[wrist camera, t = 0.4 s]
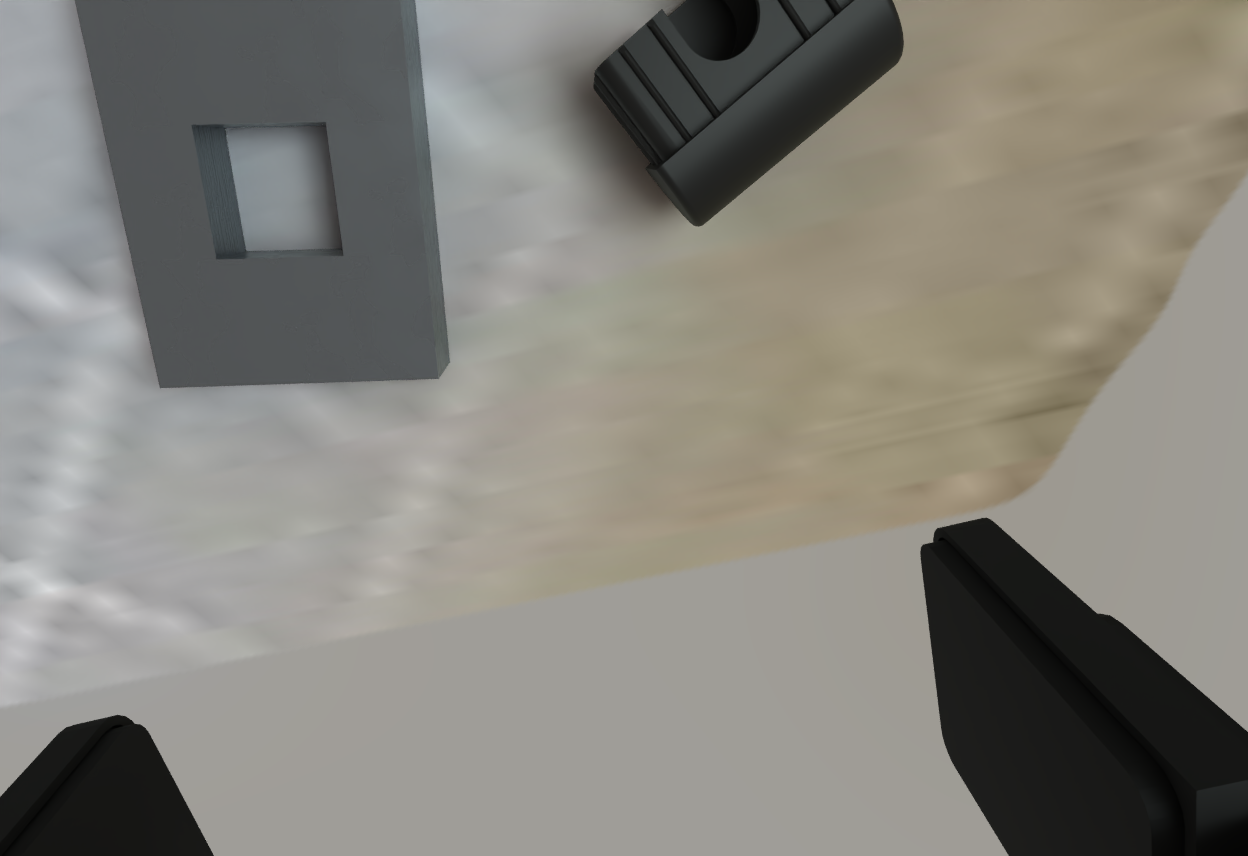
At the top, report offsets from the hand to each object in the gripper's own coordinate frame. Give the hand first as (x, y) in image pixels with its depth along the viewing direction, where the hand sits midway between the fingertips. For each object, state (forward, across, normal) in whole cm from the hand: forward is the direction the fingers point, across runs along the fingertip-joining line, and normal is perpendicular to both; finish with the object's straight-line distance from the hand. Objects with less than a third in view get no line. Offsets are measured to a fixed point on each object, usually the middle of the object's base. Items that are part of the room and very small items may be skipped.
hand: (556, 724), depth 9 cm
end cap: (+30, -8, -8) cm, 32 cm away
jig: (+29, +11, -8) cm, 32 cm away
